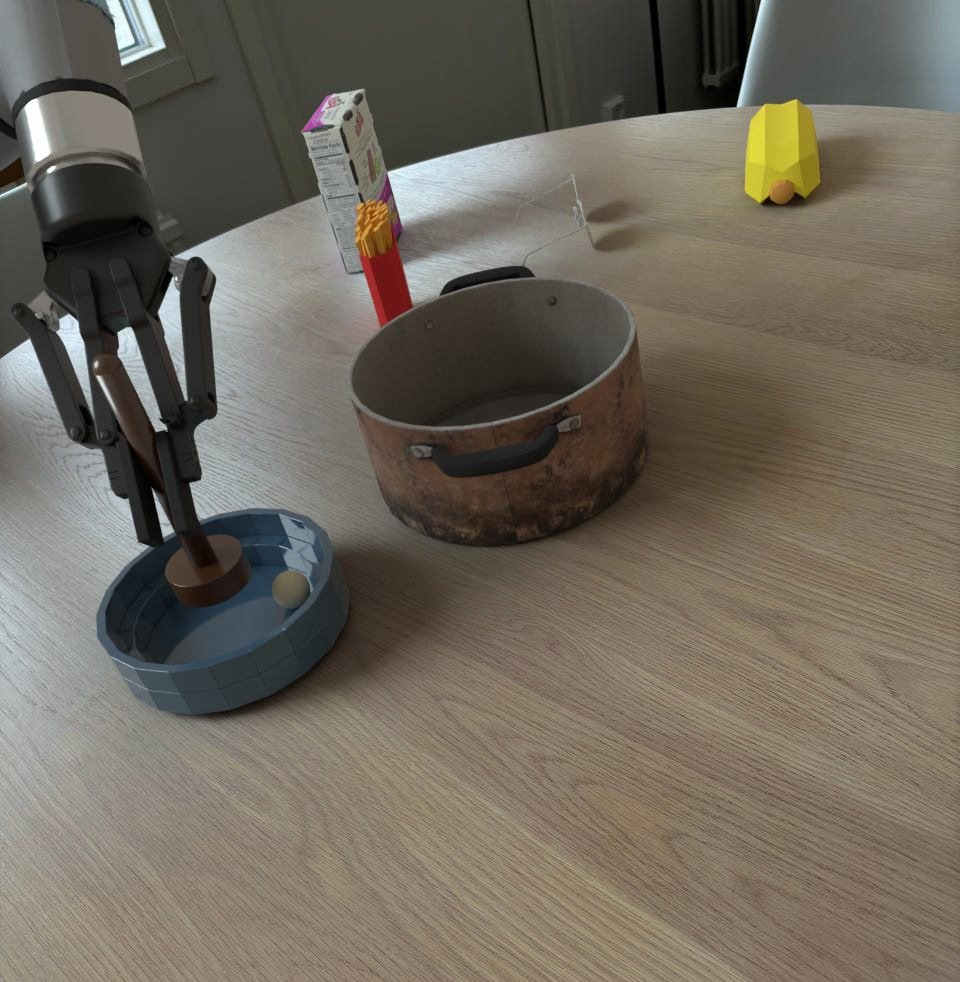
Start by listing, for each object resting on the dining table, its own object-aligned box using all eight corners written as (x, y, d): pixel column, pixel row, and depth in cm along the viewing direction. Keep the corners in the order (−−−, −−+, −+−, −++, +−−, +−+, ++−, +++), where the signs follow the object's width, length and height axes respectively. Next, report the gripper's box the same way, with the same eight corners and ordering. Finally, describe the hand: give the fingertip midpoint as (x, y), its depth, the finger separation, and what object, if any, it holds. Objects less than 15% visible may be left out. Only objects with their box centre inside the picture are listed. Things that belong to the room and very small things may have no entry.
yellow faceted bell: (744, 218, 111) (820, 208, 109) (742, 153, 107) (821, 142, 105) (747, 153, 124) (815, 144, 122) (745, 93, 119) (816, 82, 117)
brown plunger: (179, 618, 72) (55, 390, 60) (173, 572, 76) (55, 350, 64) (257, 590, 73) (149, 358, 61) (246, 546, 77) (143, 321, 65)
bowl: (132, 756, 71) (99, 706, 67) (121, 605, 84) (93, 557, 80) (375, 666, 72) (355, 613, 69) (328, 531, 85) (308, 481, 82)
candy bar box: (365, 235, 130) (325, 94, 119) (404, 229, 128) (367, 86, 117) (343, 276, 122) (298, 129, 111) (384, 271, 120) (342, 121, 109)
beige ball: (282, 621, 77) (269, 592, 75) (276, 599, 79) (263, 570, 77) (318, 608, 77) (306, 579, 75) (311, 586, 79) (299, 557, 77)
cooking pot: (676, 553, 74) (663, 424, 67) (372, 604, 77) (328, 485, 70) (626, 350, 96) (613, 236, 89) (392, 395, 99) (360, 289, 92)
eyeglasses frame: (598, 258, 111) (584, 213, 108) (524, 286, 113) (508, 243, 110) (584, 208, 122) (571, 167, 118) (516, 235, 123) (501, 195, 120)
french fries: (378, 309, 113) (346, 199, 105) (413, 300, 113) (384, 189, 105) (382, 345, 107) (349, 230, 99) (420, 335, 107) (389, 220, 99)
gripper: (217, 186, 72) (295, 519, 70) (10, 242, 72) (84, 572, 71) (180, 128, 64) (267, 500, 63) (-51, 191, 65) (31, 560, 63)
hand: (170, 538), depth 67 cm, fingers closed on brown plunger, 2 cm apart
